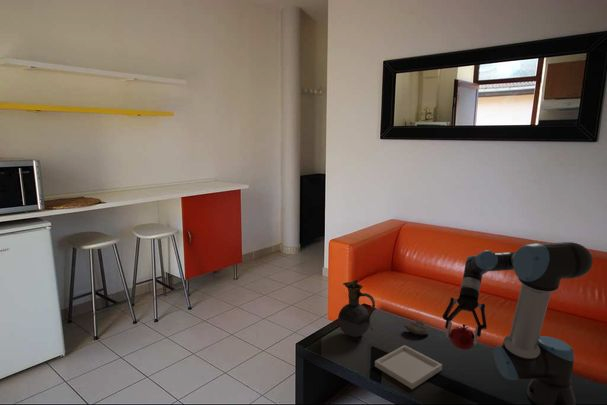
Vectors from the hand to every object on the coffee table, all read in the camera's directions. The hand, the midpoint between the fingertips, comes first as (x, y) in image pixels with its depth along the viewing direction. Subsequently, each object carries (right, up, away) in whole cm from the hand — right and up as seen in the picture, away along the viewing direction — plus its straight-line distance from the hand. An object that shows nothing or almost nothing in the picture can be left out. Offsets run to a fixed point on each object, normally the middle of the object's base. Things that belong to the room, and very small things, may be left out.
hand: (460, 340), depth 158 cm
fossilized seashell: (-7, -10, +38) cm, 40 cm away
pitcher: (-37, -11, +35) cm, 52 cm away
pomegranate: (+2, -4, +3) cm, 5 cm away
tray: (-19, -15, +9) cm, 26 cm away
